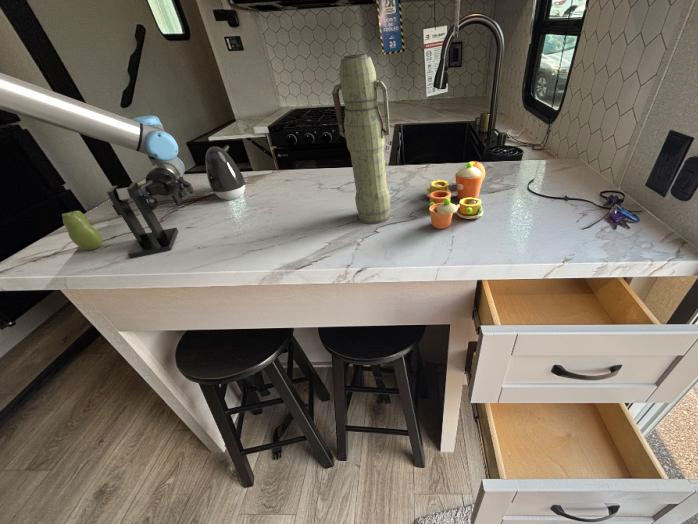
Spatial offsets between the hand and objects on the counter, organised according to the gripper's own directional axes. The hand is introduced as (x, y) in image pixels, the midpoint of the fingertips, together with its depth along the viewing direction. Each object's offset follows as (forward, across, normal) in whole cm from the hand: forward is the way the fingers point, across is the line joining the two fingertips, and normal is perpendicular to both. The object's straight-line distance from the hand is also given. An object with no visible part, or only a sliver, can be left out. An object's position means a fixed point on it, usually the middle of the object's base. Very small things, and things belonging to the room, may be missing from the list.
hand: (146, 205), depth 87 cm
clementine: (+10, -88, -8) cm, 89 cm away
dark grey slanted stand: (+7, 0, -8) cm, 11 cm away
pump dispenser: (-18, -18, -8) cm, 26 cm away
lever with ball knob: (+3, 0, +1) cm, 3 cm away
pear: (+2, +15, -8) cm, 17 cm away
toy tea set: (+23, -76, -8) cm, 80 cm away
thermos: (+18, -56, -8) cm, 59 cm away
